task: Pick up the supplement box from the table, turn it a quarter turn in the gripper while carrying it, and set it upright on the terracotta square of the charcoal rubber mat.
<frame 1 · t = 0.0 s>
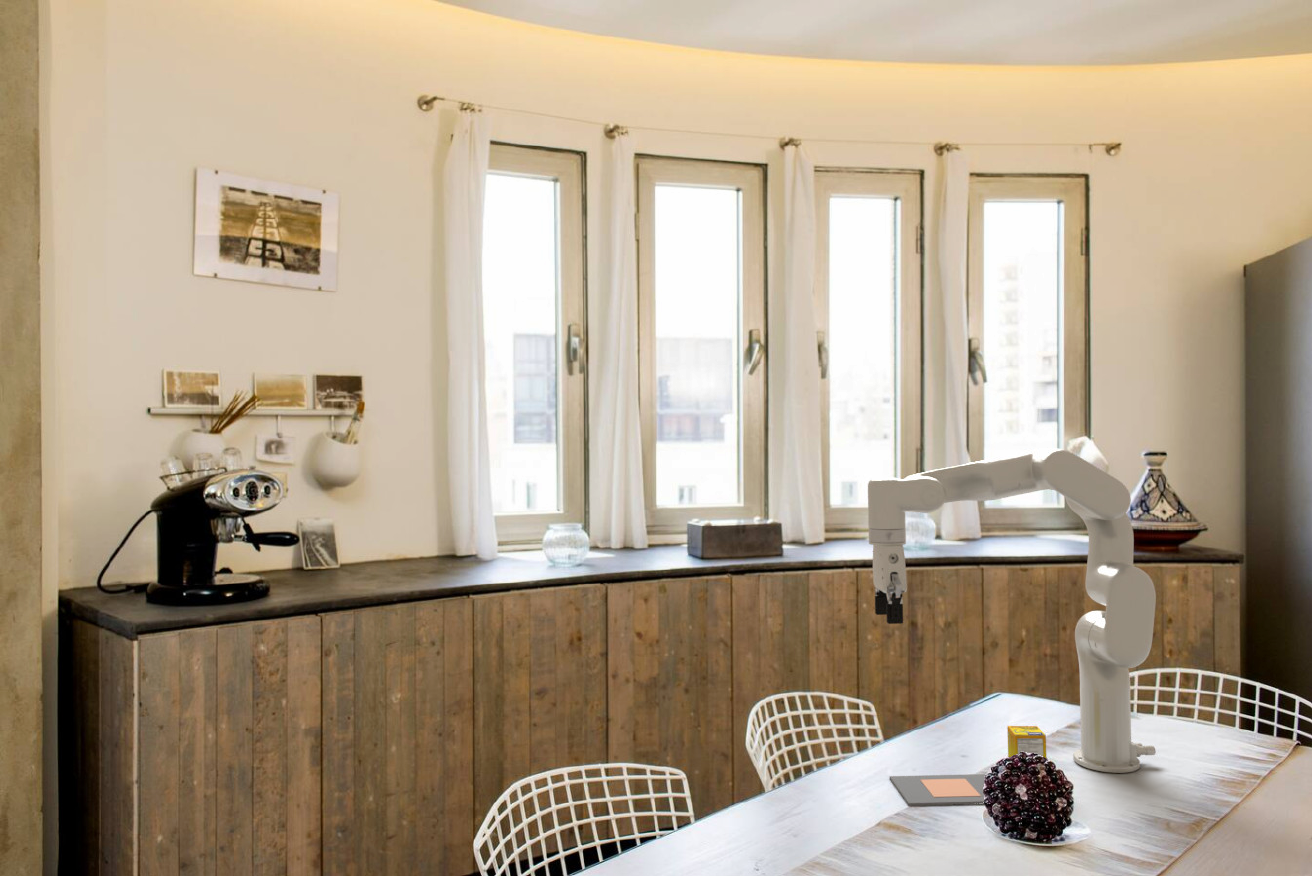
hand: (888, 618, 196), 31 cm above the table, tool pointing down, fingers open, 9 cm apart
mat: (949, 790, 183), on the table
supplement box: (1027, 786, 185), on the table
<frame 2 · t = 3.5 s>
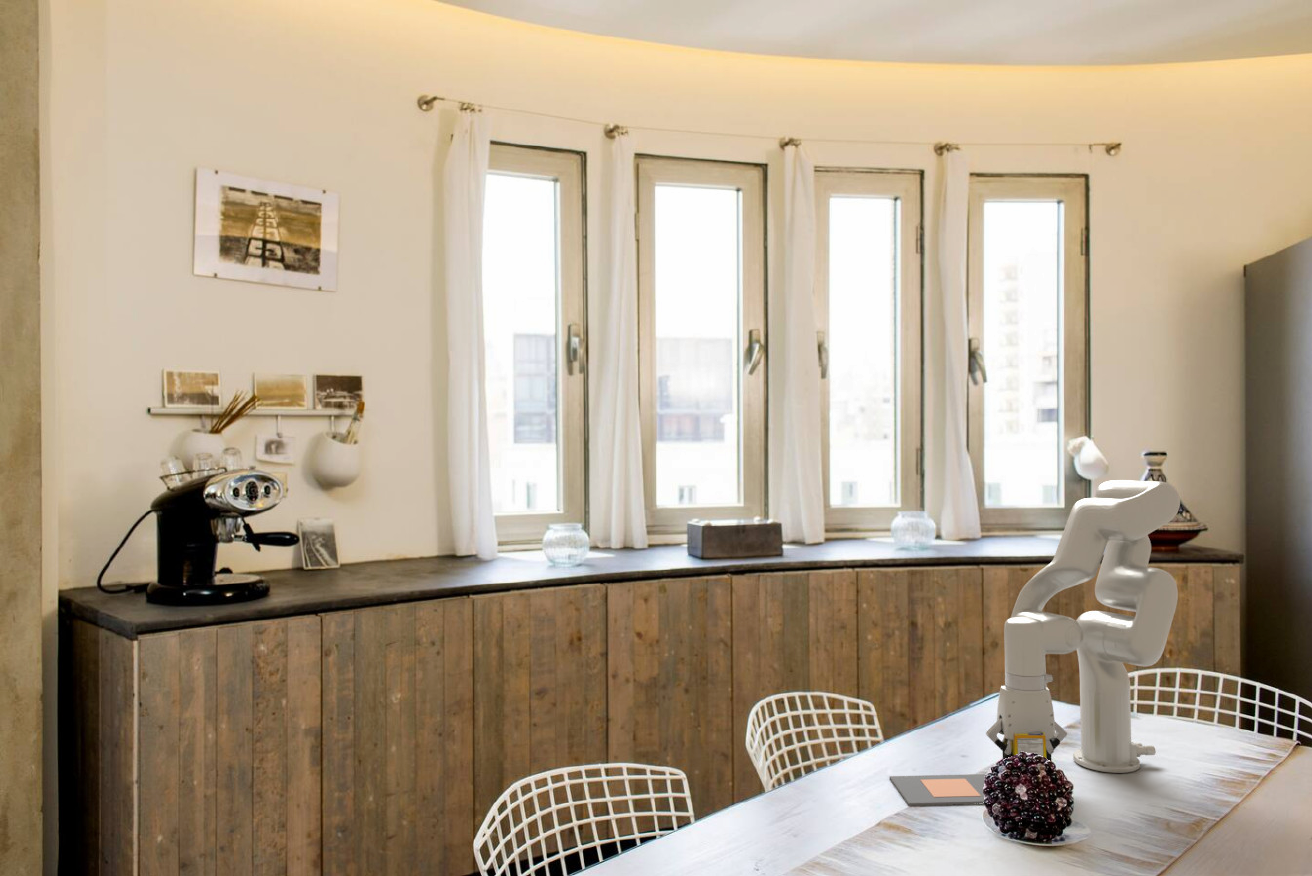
hand: (1027, 771, 185), 3 cm above the table, tool pointing down, fingers closed on supplement box, 6 cm apart
supplement box: (1027, 786, 185), on the table, touching gripper
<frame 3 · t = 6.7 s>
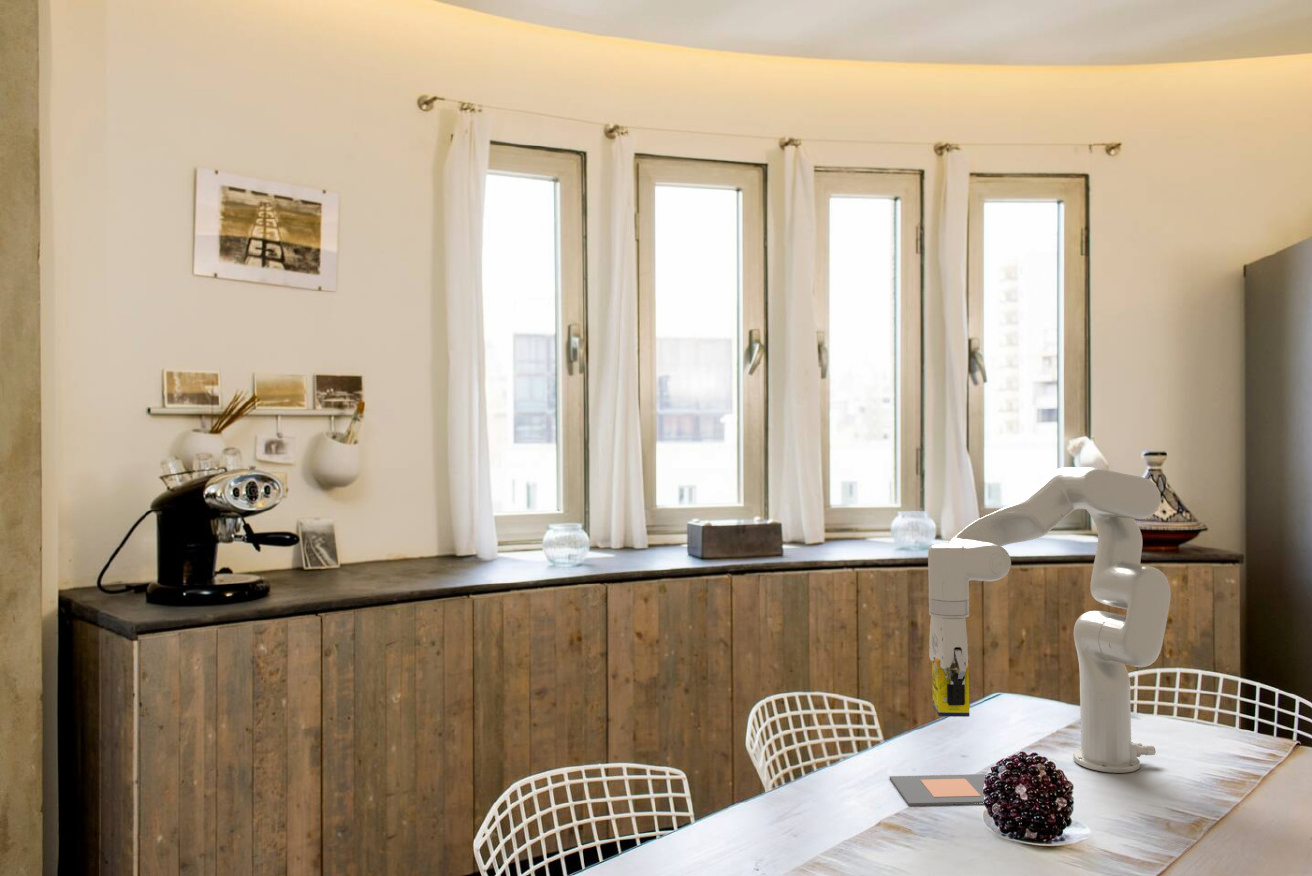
hand: (950, 698, 183), 18 cm above the table, tool pointing down, fingers closed on supplement box, 6 cm apart
supplement box: (950, 713, 183), point 15 cm above the table, touching gripper
when the fingers open (4 cm above the table, at t = 9.7 s): supplement box drops 1 cm, resting on mat.
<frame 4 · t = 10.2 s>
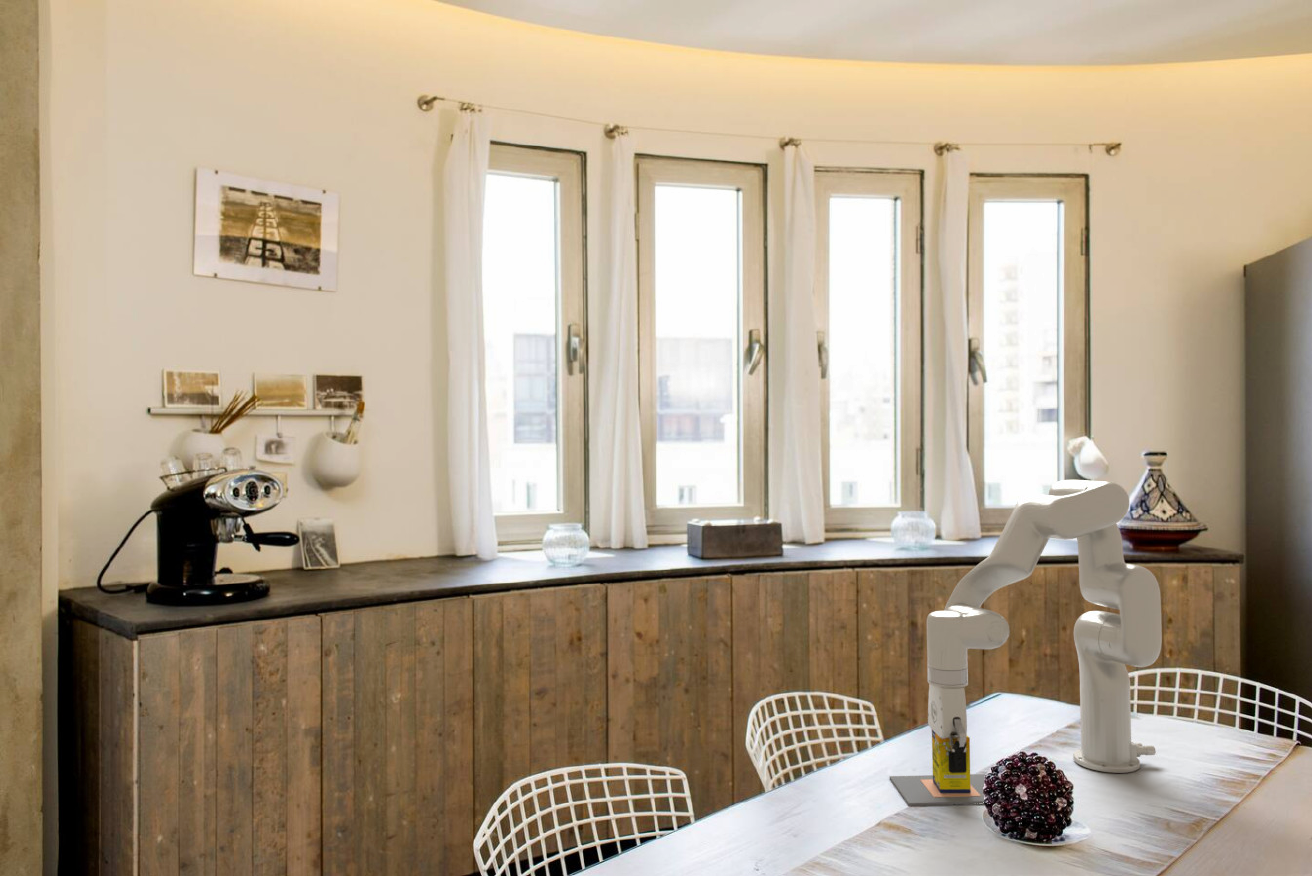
hand: (949, 763, 183), 5 cm above the table, tool pointing down, fingers open, 9 cm apart
supplement box: (951, 789, 183), resting on mat
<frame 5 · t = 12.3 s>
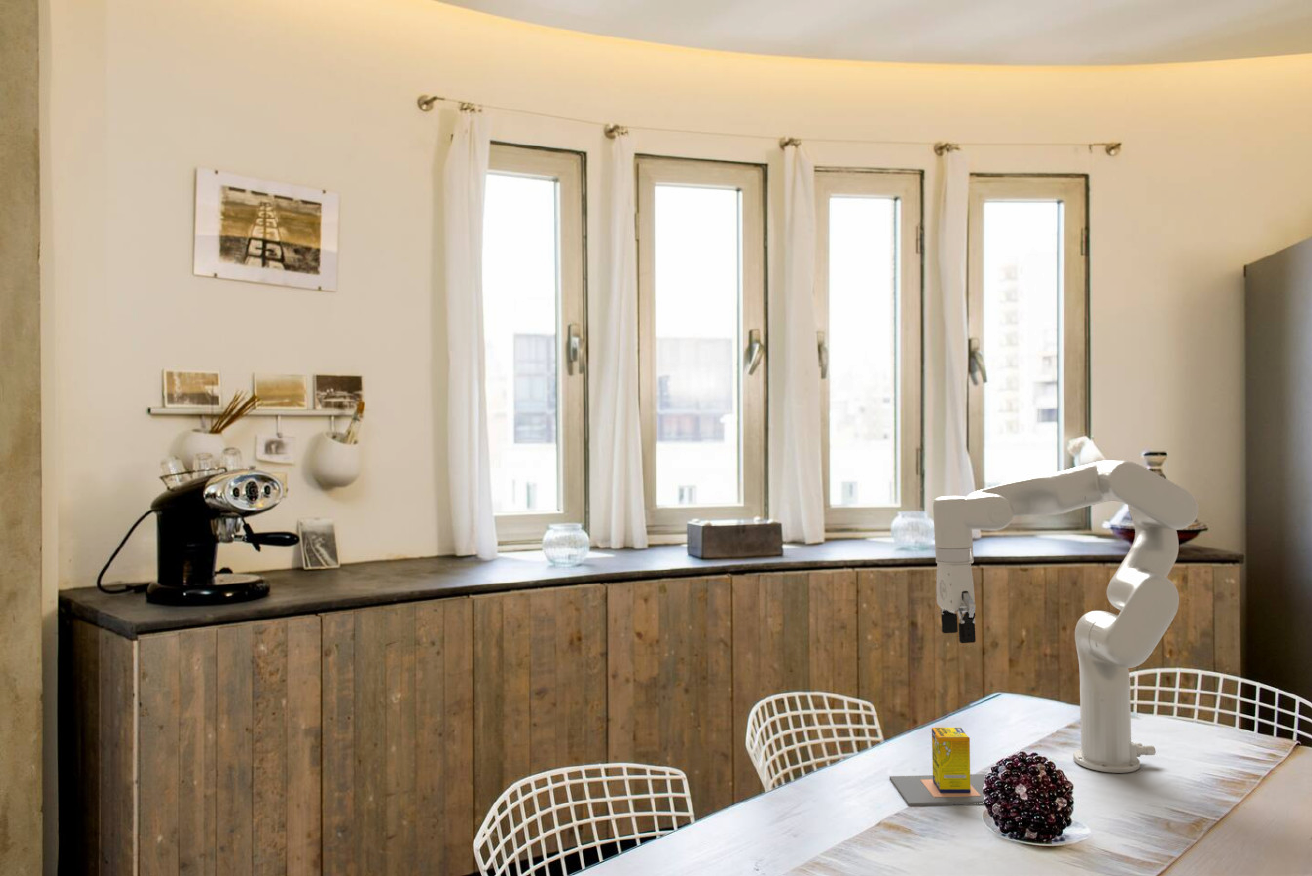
hand: (958, 637, 195), 27 cm above the table, tool pointing down, fingers open, 9 cm apart
nothing on the table moved.
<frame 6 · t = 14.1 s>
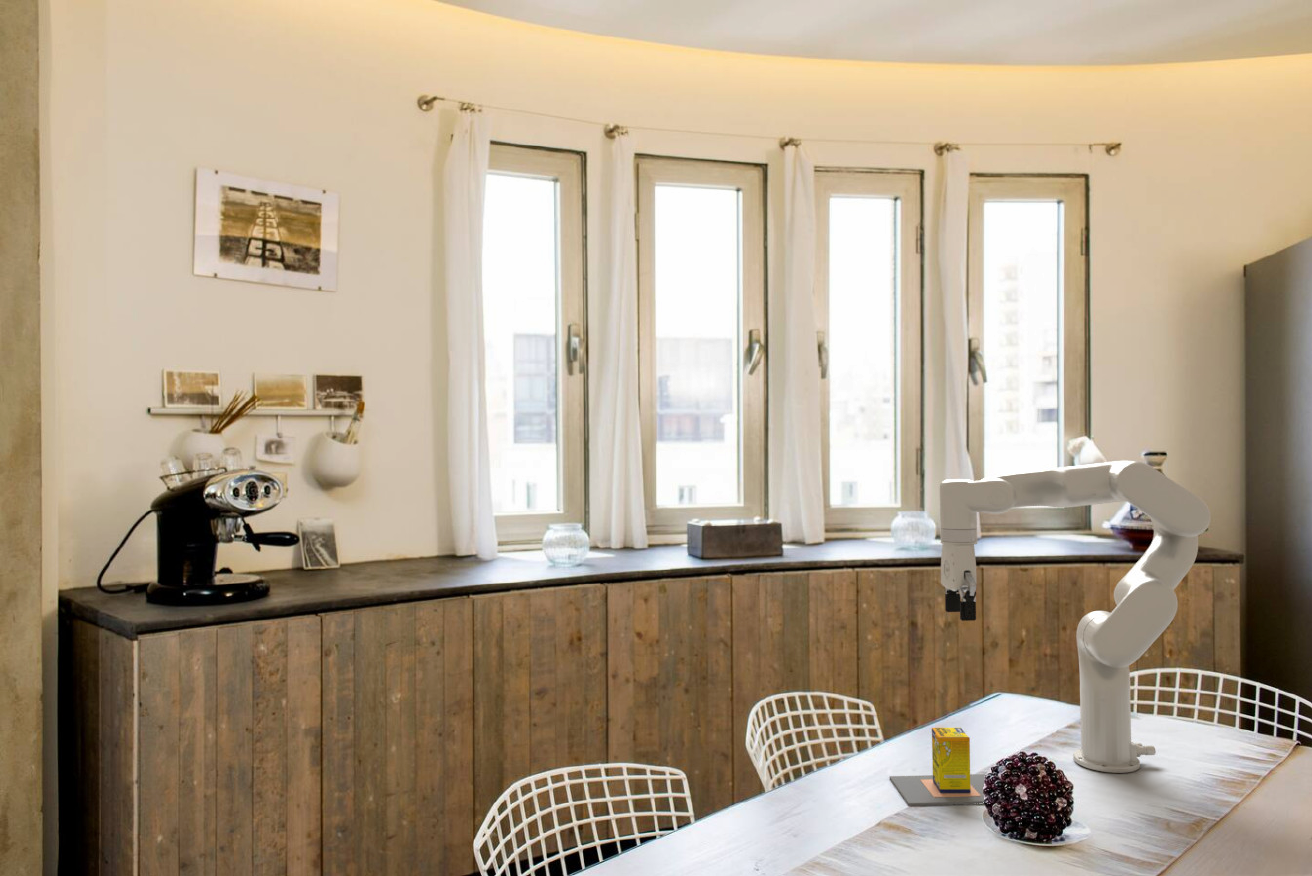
hand: (960, 615, 202), 30 cm above the table, tool pointing down, fingers open, 9 cm apart
nothing on the table moved.
at the end: supplement box inside the target area on the mat (0.3 cm from its centre), point 0.4 cm above the mat's base; supplement box tilted 0°; the gripper is holding nothing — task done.
